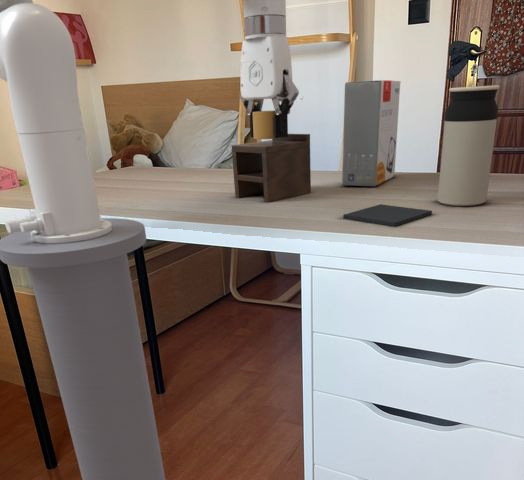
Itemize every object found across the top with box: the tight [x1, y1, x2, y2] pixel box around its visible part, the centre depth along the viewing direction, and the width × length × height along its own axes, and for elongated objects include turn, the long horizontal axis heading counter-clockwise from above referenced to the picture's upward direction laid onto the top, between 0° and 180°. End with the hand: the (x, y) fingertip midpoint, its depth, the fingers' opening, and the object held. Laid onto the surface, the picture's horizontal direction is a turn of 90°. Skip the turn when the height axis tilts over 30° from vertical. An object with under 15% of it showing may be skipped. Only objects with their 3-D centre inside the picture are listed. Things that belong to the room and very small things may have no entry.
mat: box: [342, 204, 433, 227], centre depth 85 cm, size 10×10×1 cm
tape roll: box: [253, 110, 284, 140], centre depth 102 cm, size 6×6×5 cm
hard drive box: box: [341, 79, 401, 187], centre depth 113 cm, size 16×8×20 cm, turn 153°
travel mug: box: [437, 85, 500, 207], centre depth 88 cm, size 8×8×18 cm
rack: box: [231, 133, 312, 203], centre depth 106 cm, size 12×10×11 cm
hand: (268, 136), depth 103 cm, fingers closed on tape roll, 6 cm apart
